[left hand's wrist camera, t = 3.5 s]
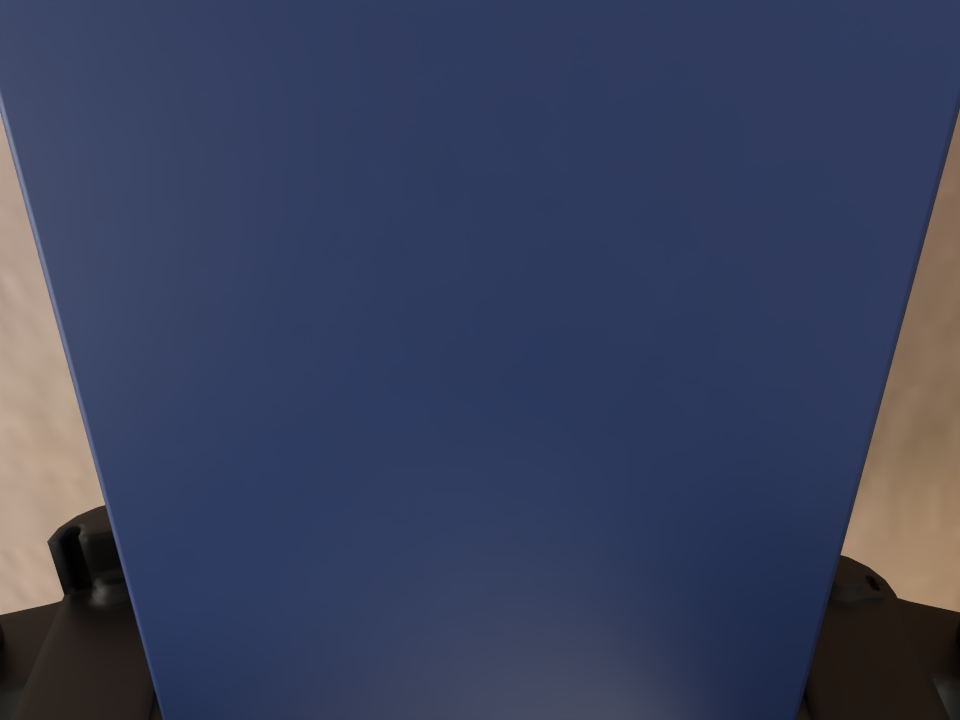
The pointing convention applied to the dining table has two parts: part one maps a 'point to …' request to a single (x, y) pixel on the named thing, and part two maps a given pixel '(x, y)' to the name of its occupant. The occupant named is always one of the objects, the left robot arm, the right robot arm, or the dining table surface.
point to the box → (479, 333)
